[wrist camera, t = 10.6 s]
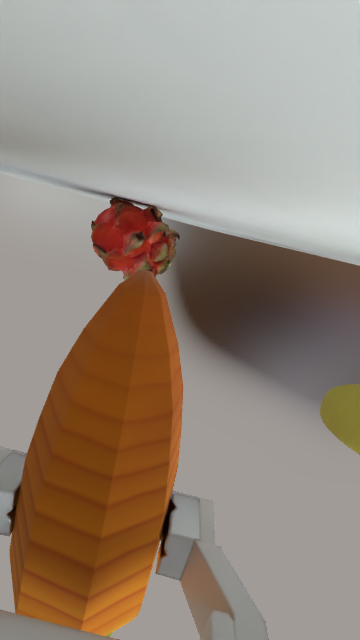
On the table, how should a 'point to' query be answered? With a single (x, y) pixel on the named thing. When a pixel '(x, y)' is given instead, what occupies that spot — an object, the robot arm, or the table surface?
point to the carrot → (101, 467)
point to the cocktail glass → (343, 414)
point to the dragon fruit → (133, 239)
